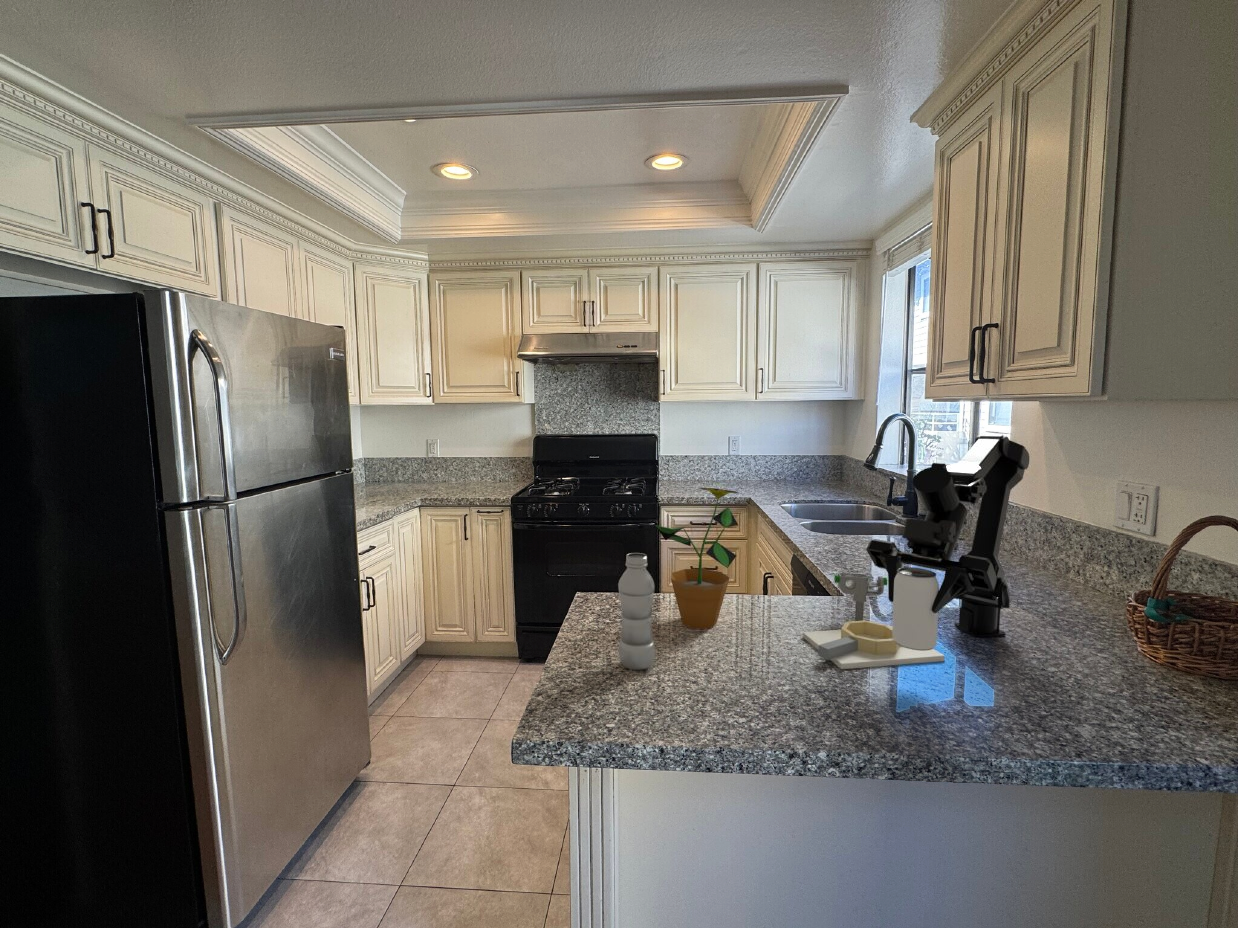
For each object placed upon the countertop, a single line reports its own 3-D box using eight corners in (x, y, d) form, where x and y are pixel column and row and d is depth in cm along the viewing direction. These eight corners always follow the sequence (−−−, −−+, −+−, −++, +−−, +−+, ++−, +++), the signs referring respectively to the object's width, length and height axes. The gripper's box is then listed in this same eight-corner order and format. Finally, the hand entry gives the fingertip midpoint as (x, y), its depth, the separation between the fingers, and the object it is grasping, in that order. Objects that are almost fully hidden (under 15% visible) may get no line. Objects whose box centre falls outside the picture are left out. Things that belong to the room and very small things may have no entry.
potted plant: (761, 630, 113) (764, 485, 110) (681, 645, 105) (682, 491, 103) (714, 602, 129) (715, 476, 126) (642, 614, 122) (642, 480, 119)
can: (884, 636, 93) (886, 567, 92) (920, 634, 94) (922, 565, 93) (907, 652, 87) (909, 578, 86) (945, 650, 87) (948, 577, 86)
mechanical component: (886, 625, 115) (888, 578, 114) (835, 621, 117) (836, 576, 116) (882, 619, 118) (884, 574, 117) (832, 616, 120) (834, 572, 119)
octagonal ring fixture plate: (906, 629, 112) (907, 613, 112) (958, 659, 99) (959, 640, 98) (791, 637, 109) (791, 620, 108) (828, 670, 95) (829, 650, 95)
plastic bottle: (630, 678, 92) (629, 562, 91) (612, 662, 98) (611, 553, 97) (662, 669, 95) (662, 557, 94) (643, 654, 101) (642, 549, 100)
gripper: (873, 494, 98) (839, 566, 92) (994, 507, 83) (964, 594, 77) (891, 531, 103) (861, 601, 97) (1008, 549, 89) (981, 632, 83)
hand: (911, 605), depth 89 cm, fingers closed on can, 6 cm apart
